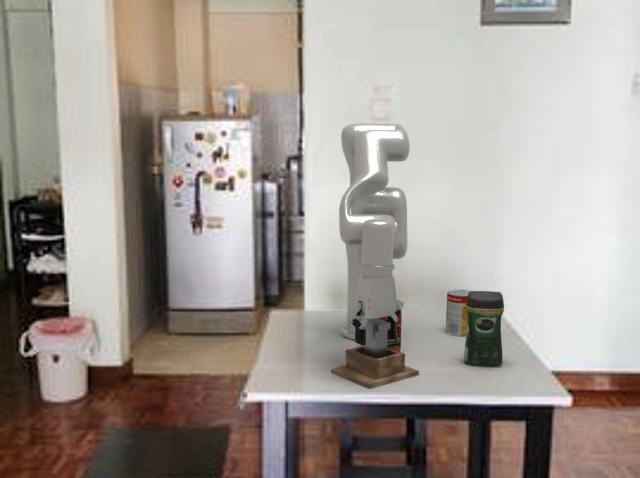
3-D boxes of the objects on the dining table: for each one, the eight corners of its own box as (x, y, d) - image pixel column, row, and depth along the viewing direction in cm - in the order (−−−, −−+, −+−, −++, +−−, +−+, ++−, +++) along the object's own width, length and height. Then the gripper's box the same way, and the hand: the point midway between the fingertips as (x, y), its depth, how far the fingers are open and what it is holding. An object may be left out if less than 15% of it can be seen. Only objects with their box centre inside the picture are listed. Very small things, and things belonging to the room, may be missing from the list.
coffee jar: (500, 358, 193) (504, 288, 191) (503, 368, 186) (506, 295, 183) (462, 356, 195) (465, 287, 192) (463, 366, 187) (466, 294, 184)
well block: (379, 360, 191) (380, 339, 191) (418, 374, 181) (419, 352, 180) (331, 372, 182) (331, 350, 181) (369, 388, 171) (369, 365, 170)
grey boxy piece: (372, 364, 185) (373, 317, 183) (389, 371, 180) (390, 322, 178) (360, 367, 182) (361, 320, 180) (377, 374, 178) (378, 325, 176)
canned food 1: (382, 356, 194) (383, 315, 193) (366, 348, 201) (367, 308, 200) (406, 352, 198) (407, 312, 196) (390, 344, 205) (391, 305, 203)
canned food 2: (477, 331, 218) (478, 291, 217) (467, 337, 212) (468, 296, 210) (451, 327, 223) (453, 288, 221) (441, 333, 216) (442, 293, 214)
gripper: (392, 264, 185) (390, 331, 188) (338, 272, 175) (337, 343, 177) (414, 269, 179) (412, 338, 182) (359, 278, 169) (358, 350, 172)
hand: (375, 340), depth 180 cm, fingers open, 9 cm apart
